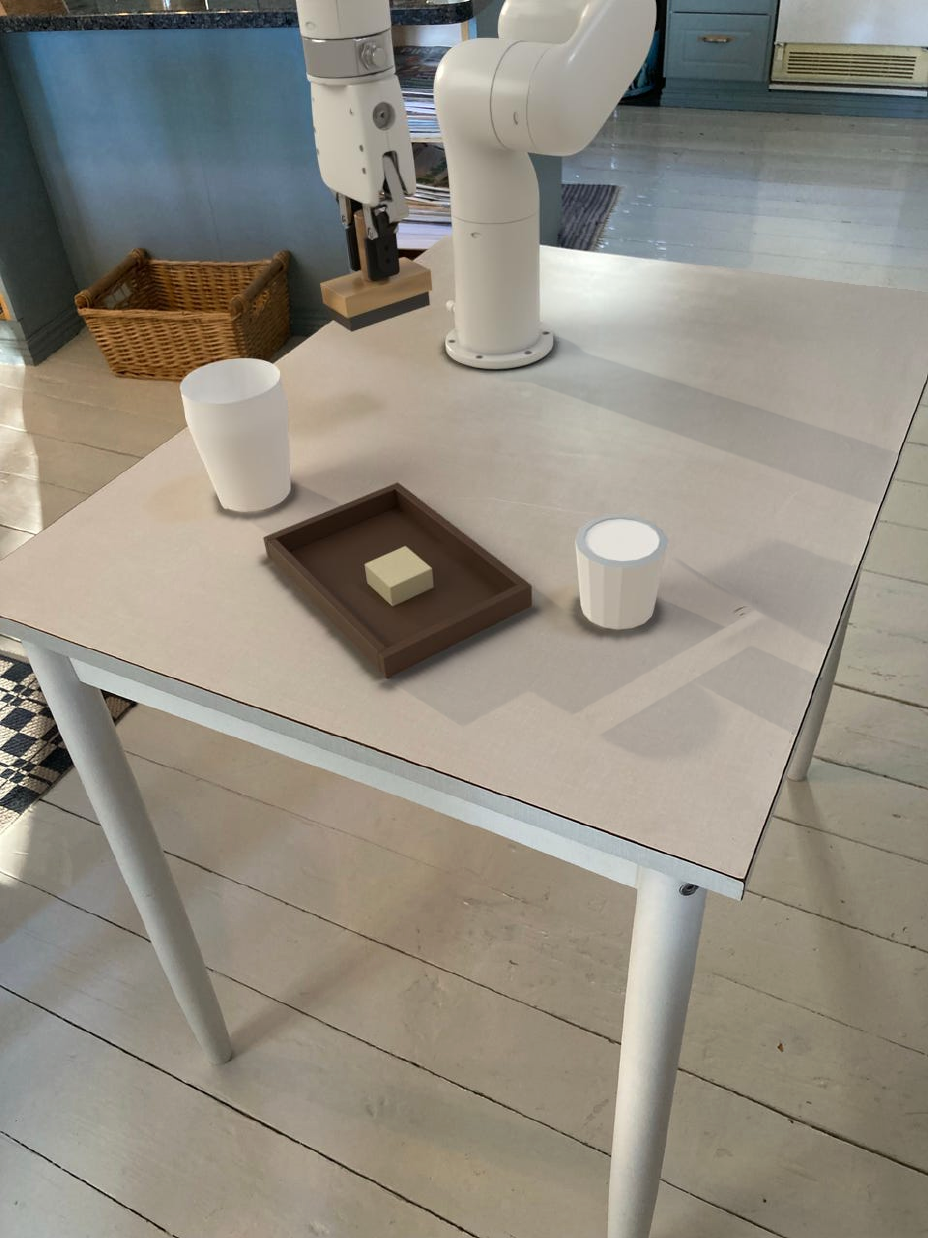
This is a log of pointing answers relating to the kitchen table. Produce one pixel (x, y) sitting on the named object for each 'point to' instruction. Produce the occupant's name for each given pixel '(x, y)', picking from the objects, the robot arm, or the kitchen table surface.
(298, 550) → the tray
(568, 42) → the robot arm
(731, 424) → the kitchen table surface
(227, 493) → the cup
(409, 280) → the brush
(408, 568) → the sponge chip
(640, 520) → the white tapered tub
